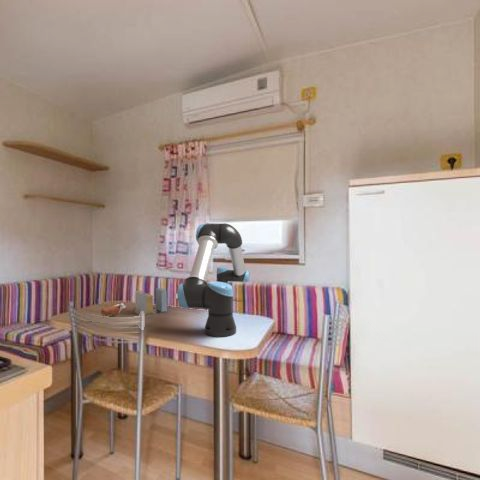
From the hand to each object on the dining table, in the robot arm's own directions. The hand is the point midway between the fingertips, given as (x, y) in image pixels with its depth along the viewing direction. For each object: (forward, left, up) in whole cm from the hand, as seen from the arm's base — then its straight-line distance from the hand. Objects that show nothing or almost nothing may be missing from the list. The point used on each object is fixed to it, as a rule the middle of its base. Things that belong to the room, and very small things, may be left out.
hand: (175, 296), depth 179 cm
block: (-12, +12, -7) cm, 19 cm away
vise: (-10, +10, -9) cm, 17 cm away
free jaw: (-6, +6, -7) cm, 11 cm away
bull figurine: (-25, +25, -9) cm, 37 cm away
